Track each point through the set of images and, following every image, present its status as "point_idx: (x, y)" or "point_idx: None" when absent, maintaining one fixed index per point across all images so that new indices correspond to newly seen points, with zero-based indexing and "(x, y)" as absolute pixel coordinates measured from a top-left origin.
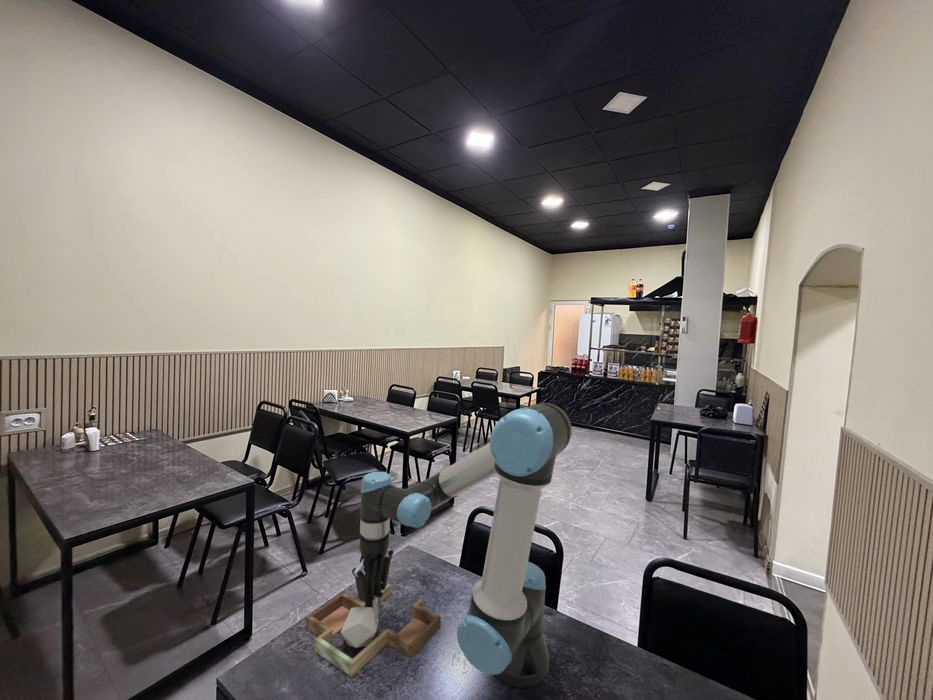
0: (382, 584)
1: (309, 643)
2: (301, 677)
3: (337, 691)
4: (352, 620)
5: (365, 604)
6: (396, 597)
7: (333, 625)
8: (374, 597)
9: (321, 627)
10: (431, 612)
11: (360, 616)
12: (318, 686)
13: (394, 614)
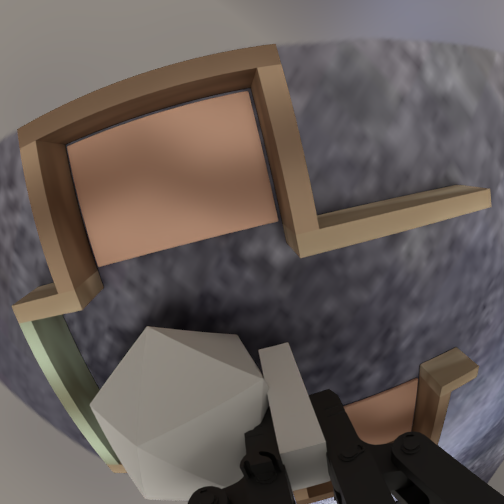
0: (403, 499)
1: (32, 234)
2: (3, 350)
3: (81, 444)
4: (129, 468)
5: (246, 449)
6: (460, 235)
7: (138, 204)
8: (314, 474)
9: (46, 252)
10: (439, 434)
11: (169, 492)
12: (40, 405)
13: (395, 321)
